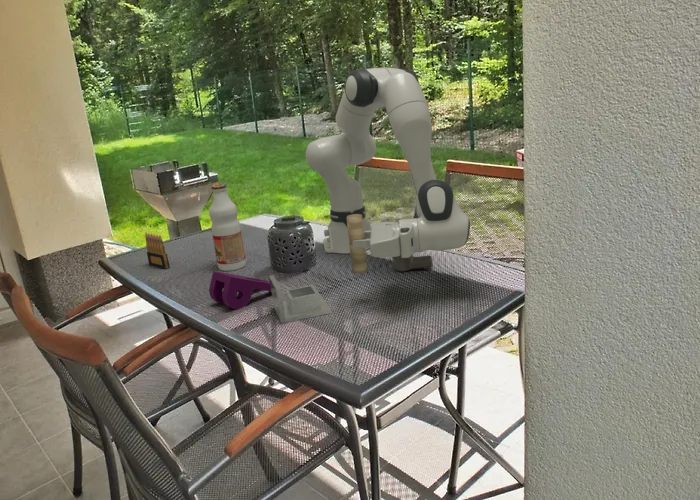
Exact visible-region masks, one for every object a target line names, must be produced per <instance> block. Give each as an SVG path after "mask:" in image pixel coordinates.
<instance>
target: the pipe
mask: <svg viewBox="0 0 700 500" xmlns="http://www.w3.org/2000/svg"><path fill="white" fill-rule="evenodd" d="M391 259H392V262H393V269H394V270H395V271H397V272H407V271H411V270H422V269H423V270H424V269H430V268H433V259H432V256H431V255H421V256H413V254H412V255H411V256H410V257H409V258H402V257H401V255H400V256H397V257H391Z"/></svg>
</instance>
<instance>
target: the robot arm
mask: <svg viewBox="0 0 700 500" xmlns="http://www.w3.org/2000/svg"><path fill="white" fill-rule="evenodd" d="M377 108H379V109H382V108H384V109H385V110H386V114H387V118H388V121H389V124H390V127H391V129H392V132H393V134H394V137H395V139H396V141H397V142H398V144H399V147H400V149H401V151H402V153H403V156H404V157H405V160H406V162H407V164H408V168H409V171H410V174H411V177H412V181H413V185H414V189H415V191H416V205H415V206H416V207H415V216H416V217H415V218H404V219H403V218H402V219H401V218H400V219H399V220H398V222H397V221H378V222H374V223H372V224H371V221H370V220H369V219H367V218H366V217H367V215H366V211H367V210H366V208H365V206H364V201H363V200H364V199H363V189H362V188H363V187H362V184H361V183H360V182H359V181H358V180H356V179H355V178H352V177H350V176H349V174H348V170H347V168H348V167H353V166H354V167H355V166H359V165H362V164H364V163H367V162H369V161H370V160H372V159H373V158H374V157H375V156H376V151H377V144H376V143H377V142H376V141H375V139H374V137H373V136H372V135H371V134H370V131H369V130H370V126H371V123H372V120H373V118H374V115H375V112H376V109H377ZM429 108H430V107H429V105H428V103H427V99H426V97H425V95H424V92H423V90H422V87H421V85H420V82H419V78H418V75H417V74H416V73H415V72H414V71H413V70H410V69H407V68H397V67H386V66H385V67H374V68H373V67H372V68H363V67H362V68H357V69H353V70H352V71H350V72H349V73H348V75H347V77H346V78H345V82H344V91H343V94H342V96H341V99H340V102H339V105H338V107H337V111H336V114H335V123H336V125H337V128H339V130H340V131H341V133H339V134H336V135H331V136H324V137H320V138H317V139H315V140H313V141H311V142H309V143H308V144H307V147H306V149H305V161H306V163H307V165H308V167H310V169H311V170H313V172H314V171H315V172H316V173H318V174H319V175H320V176H321V177H322V179H323V181H324V182H325V185H326V187H327V190H328V196H329V203H330V210H329V212H330V213H329V217H330V222H329V224H328V226H327V229H324V230H323V234H324V237H326V238H323V239H322V240H323V241H322V243H323V248H324V249H323V250H324V252H325V253H327V254H328V253H333V254H335V253H336V254H350V244H349V235H348V226H347V216H348V215H352V214H361V215H362V220H363V230H364V240H359V239H354V240H353V242H352V243H353V247H354V248H355V247H361V248H365V250H366V251H367V250H369V252H370V256H371V257H374V258H392V257H397V256H400V255H401V257H402V258H409V257H410V256H411V255H412V256H413V254H416V253H423V252H426V251H434V252H440V251H448V250H449V251H450V250H456V249H460V248H462V247H464V246H465V245H466V244H467V243H468V241H469V239H470V238H469V237H470V231H471V230H470V229H471V220H470V217H469V216H468V215H467V214H466V213H465V212H464V211H463V210H462V208H461V206H460V204H459V203H458V201H457V199H456V196H455V194H454V192H453V189H452V187H451V186H450V185H449V184H448V183H447V182H446V181H444V180H441V179H437V176H436V172H435V169H434V165H433V162H432V154H431V153H432V152H431V151H432V150H431V149H432V148H431V147H432V135H433V128H432V127H433V125H432V117H431V112H430V109H429Z"/></svg>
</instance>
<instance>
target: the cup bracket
mask: <svg viewBox="0 0 700 500" xmlns="http://www.w3.org/2000/svg"><path fill="white" fill-rule="evenodd" d="M268 279H269V280H268V281H269V282H270V286H271V291H270V293H271V298H272V306H273V310H274V311H275V313H276V316H277V318H278V319H279V322H280V324H285V323H289V322H295V321H300V320H304V319H309V318H313V317H318V316H319V317H320V316H324V315H327V314H332V313H333V312H332V308H331V307H330V305H329V304H328V303H327V301H326V300H325V299H324V297H323V296H322V295H321V294H320V293H319V291H318V290H317V288H316V287H315V286H314V284H310V285H305V286H299V287H295V288H289V289H285V290H284V293H285V294H284V295H285V300H286V301H285V300H284V299H283V294H282V293H283V292H282V288H281V285H279V283H278V281H277V279H276V277H275V276H274V275H273V274H272V275H269V276H268Z"/></svg>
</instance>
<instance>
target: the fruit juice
mask: <svg viewBox="0 0 700 500" xmlns="http://www.w3.org/2000/svg"><path fill="white" fill-rule="evenodd" d="M227 189H228V185H227V183H224V182H223V183H221V182H220V183H215V184H212V185H211V191H212V193H213V194H212V197H213V198H212V203H211V205H210V207H209V209H208V210H209V211H208V214H209V218H210V220H211V225H210V226H211V236H212V240H213V246H214V251H215V252H214V253H215V257H216V262H217V267H218V270H220V271H224V272H229V271H237V270H240V269H242V268H244V267H246V263H247V260H246V253H245V247H244V241H243V233H242V227H241V224H240V221H239V219H238V208H237V207H238V206H237V205H236V204H235V203H234V201H232V199H231V198H230V195H228V191H227Z"/></svg>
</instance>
